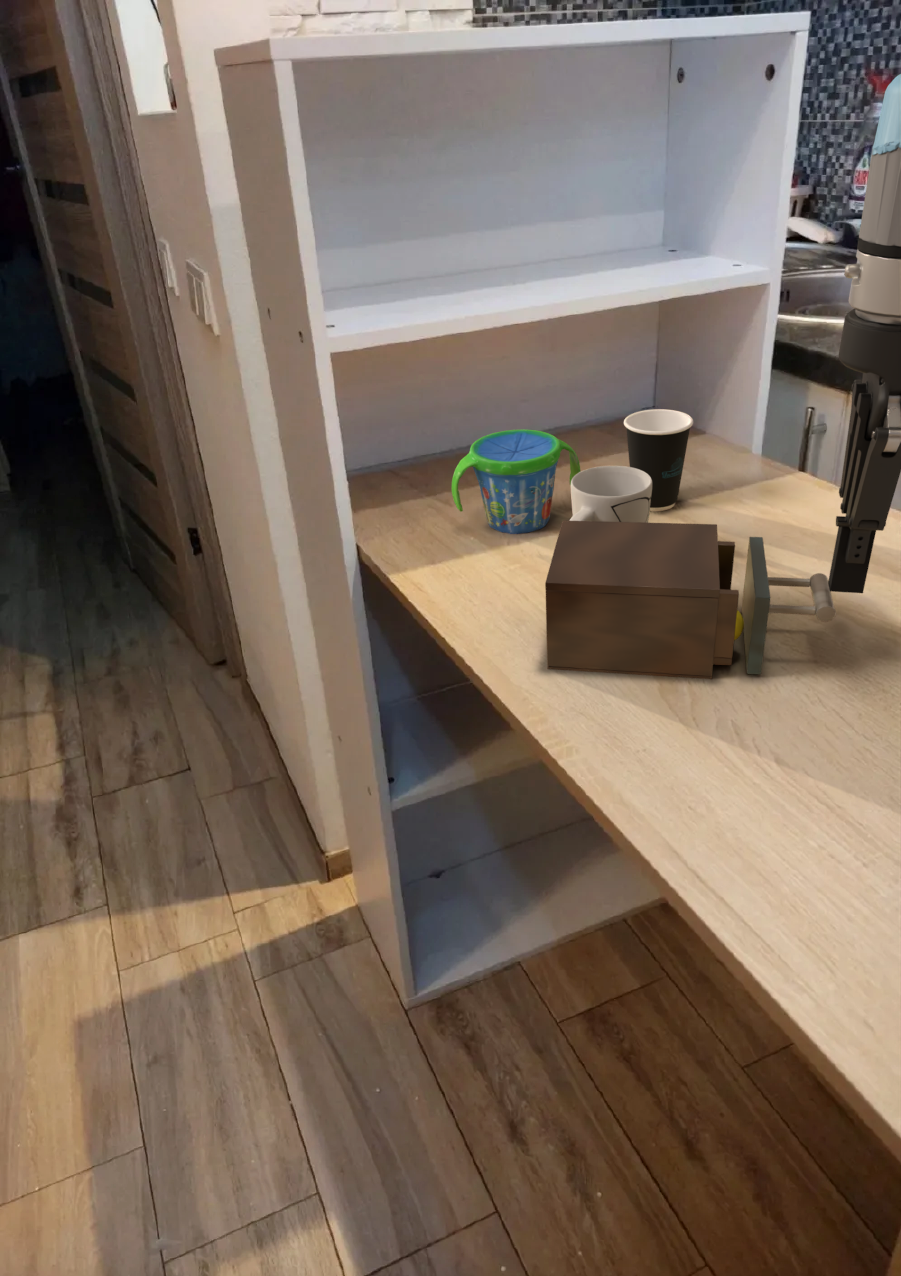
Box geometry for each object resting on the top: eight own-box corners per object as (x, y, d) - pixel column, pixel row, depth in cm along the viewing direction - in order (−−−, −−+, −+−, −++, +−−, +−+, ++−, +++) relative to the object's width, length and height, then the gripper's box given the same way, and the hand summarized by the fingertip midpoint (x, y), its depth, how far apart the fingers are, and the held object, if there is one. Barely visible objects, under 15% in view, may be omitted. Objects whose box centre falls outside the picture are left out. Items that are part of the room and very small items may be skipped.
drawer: (817, 611, 89) (828, 538, 85) (831, 678, 80) (845, 600, 76) (614, 602, 94) (616, 532, 89) (605, 665, 84) (606, 590, 80)
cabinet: (709, 611, 92) (717, 524, 87) (711, 684, 82) (719, 589, 77) (563, 604, 96) (562, 520, 91) (547, 673, 85) (545, 582, 80)
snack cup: (463, 552, 107) (456, 470, 102) (448, 515, 116) (441, 438, 111) (593, 533, 109) (593, 451, 104) (568, 498, 118) (567, 421, 112)
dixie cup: (626, 492, 118) (628, 408, 112) (690, 495, 116) (695, 409, 110) (617, 518, 112) (619, 431, 106) (684, 522, 110) (690, 433, 104)
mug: (604, 603, 95) (605, 514, 90) (539, 580, 100) (536, 495, 95) (663, 560, 102) (668, 475, 97) (600, 541, 107) (600, 459, 102)
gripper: (835, 291, 75) (794, 551, 87) (858, 334, 64) (807, 624, 77) (936, 290, 73) (879, 556, 86) (977, 335, 63) (904, 630, 75)
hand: (845, 587), depth 81 cm, fingers closed
